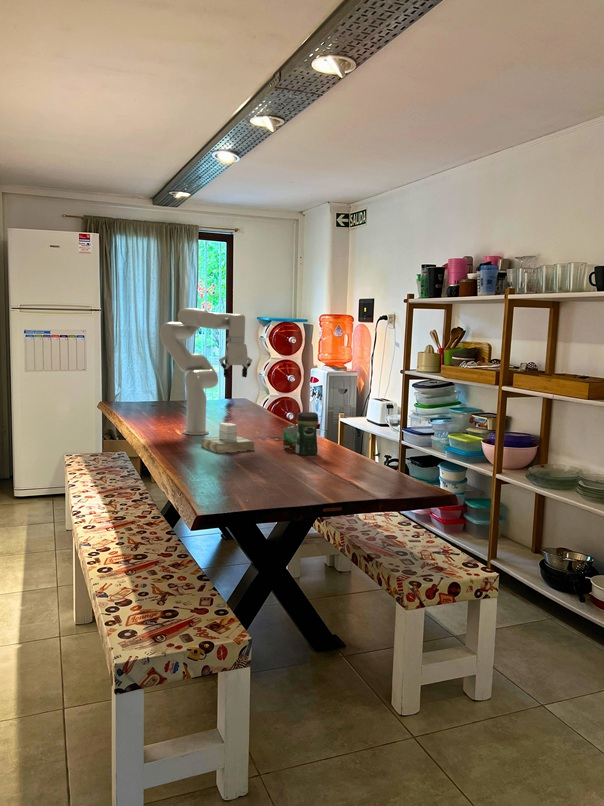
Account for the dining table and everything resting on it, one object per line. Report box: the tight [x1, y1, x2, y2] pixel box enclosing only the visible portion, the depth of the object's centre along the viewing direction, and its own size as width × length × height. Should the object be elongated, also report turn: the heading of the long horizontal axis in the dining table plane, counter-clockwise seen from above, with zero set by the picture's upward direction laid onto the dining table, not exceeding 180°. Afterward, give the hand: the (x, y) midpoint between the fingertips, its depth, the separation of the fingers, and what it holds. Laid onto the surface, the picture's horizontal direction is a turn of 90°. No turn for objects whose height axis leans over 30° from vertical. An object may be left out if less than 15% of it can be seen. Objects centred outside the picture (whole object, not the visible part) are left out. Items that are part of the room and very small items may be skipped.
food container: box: [282, 423, 298, 450], centre depth 300 cm, size 12×6×10 cm, turn 168°
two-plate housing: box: [218, 422, 238, 441], centre depth 292 cm, size 5×7×7 cm
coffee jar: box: [294, 411, 319, 456], centre depth 287 cm, size 10×8×19 cm
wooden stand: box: [201, 435, 255, 454], centre depth 293 cm, size 16×18×4 cm
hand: (235, 377), depth 309 cm, fingers open, 9 cm apart
